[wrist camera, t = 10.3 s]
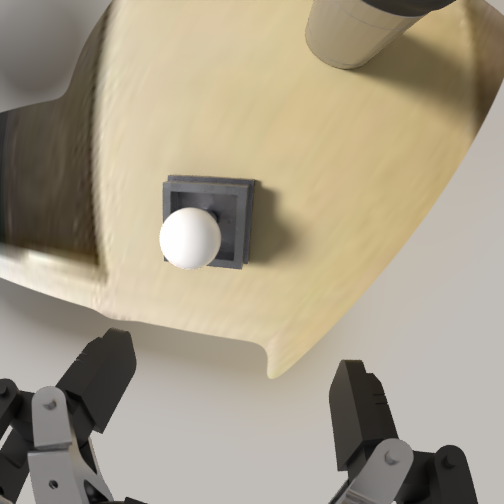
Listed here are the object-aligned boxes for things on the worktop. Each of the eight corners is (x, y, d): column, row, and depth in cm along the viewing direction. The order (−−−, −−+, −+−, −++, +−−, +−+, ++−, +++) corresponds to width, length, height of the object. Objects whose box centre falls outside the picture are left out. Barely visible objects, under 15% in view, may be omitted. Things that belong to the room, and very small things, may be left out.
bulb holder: (170, 174, 35) (159, 178, 31) (254, 179, 34) (252, 183, 31) (171, 253, 39) (160, 264, 35) (248, 260, 38) (245, 273, 35)
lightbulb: (228, 246, 37) (210, 286, 26) (182, 238, 37) (148, 273, 27) (235, 199, 34) (217, 222, 24) (186, 191, 34) (150, 210, 24)
